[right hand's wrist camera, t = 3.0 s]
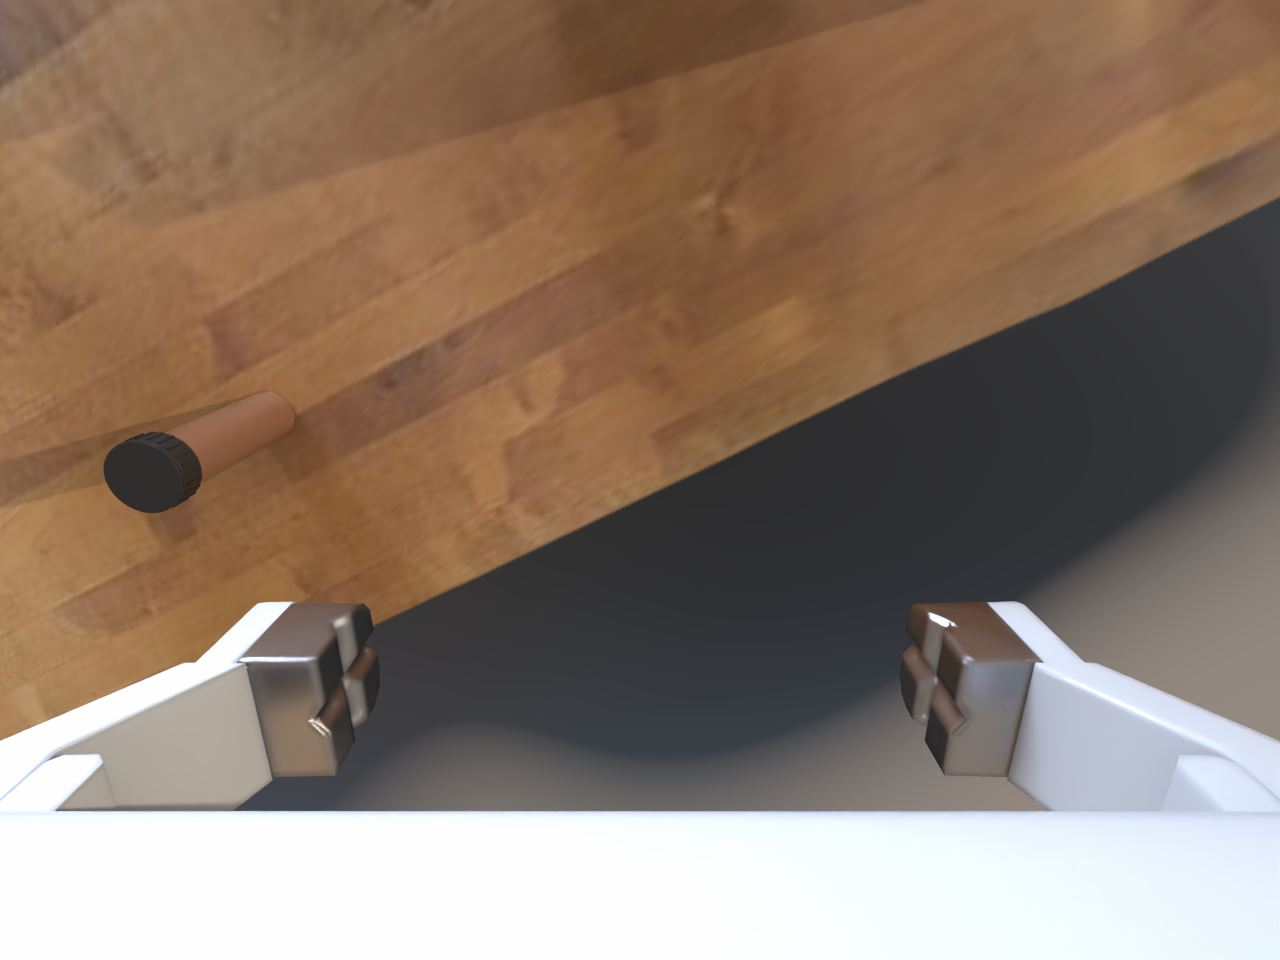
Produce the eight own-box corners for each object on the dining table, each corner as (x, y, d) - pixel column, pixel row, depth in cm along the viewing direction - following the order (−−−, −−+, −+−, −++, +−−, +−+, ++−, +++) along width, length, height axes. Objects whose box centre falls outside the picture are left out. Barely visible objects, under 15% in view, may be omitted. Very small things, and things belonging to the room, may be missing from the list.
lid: (194, 430, 45) (172, 440, 43) (210, 501, 46) (190, 514, 44) (118, 430, 45) (93, 440, 43) (137, 501, 46) (114, 514, 44)
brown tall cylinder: (290, 391, 58) (171, 445, 43) (298, 438, 59) (186, 505, 45) (242, 391, 58) (106, 445, 43) (251, 438, 59) (123, 505, 44)
